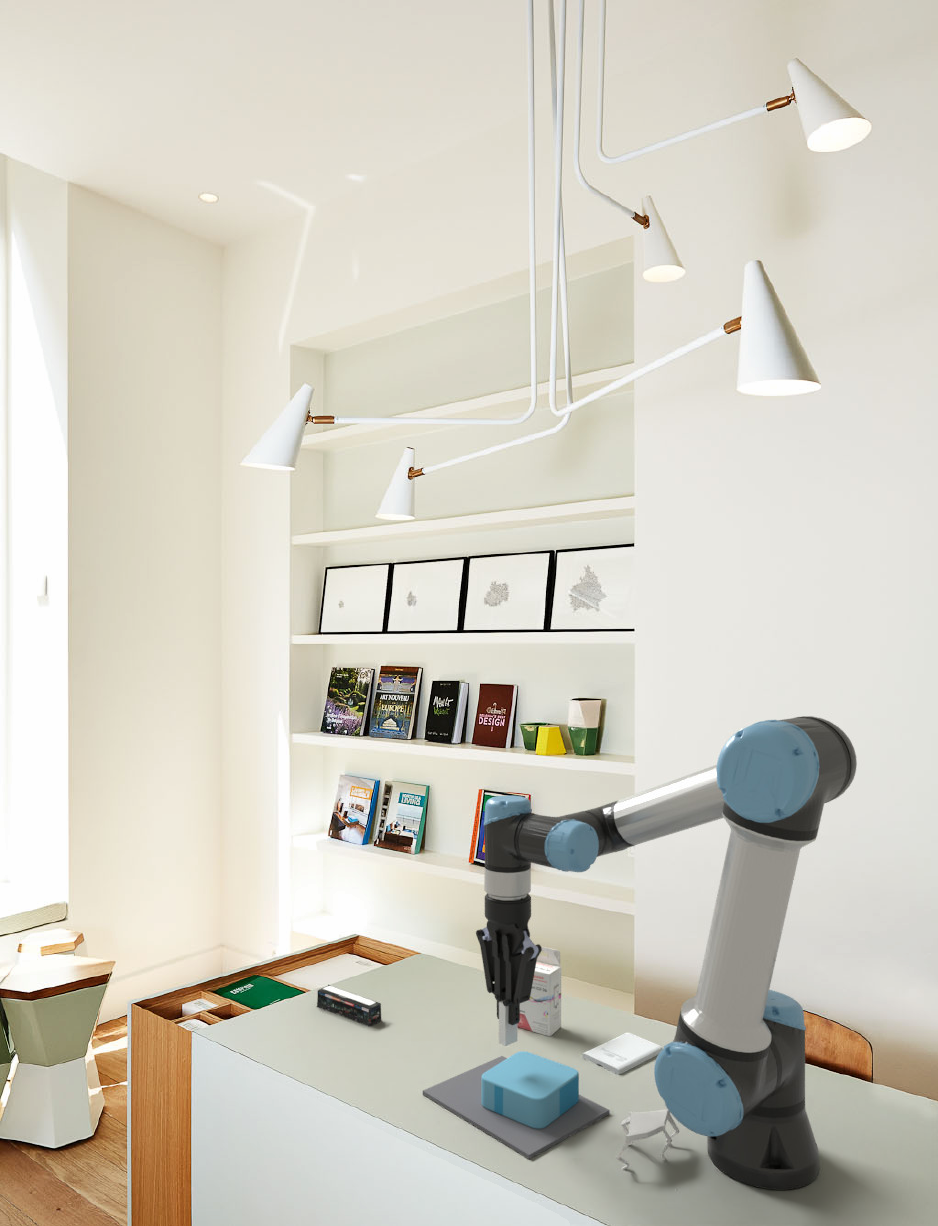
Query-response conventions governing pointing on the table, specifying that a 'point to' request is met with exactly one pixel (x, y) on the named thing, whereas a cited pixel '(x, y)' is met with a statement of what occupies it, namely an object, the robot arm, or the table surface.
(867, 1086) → the table surface
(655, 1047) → the external hard drive
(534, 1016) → the ink cartridge box
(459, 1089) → the mat
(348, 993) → the bus
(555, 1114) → the data package
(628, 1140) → the origami figure
